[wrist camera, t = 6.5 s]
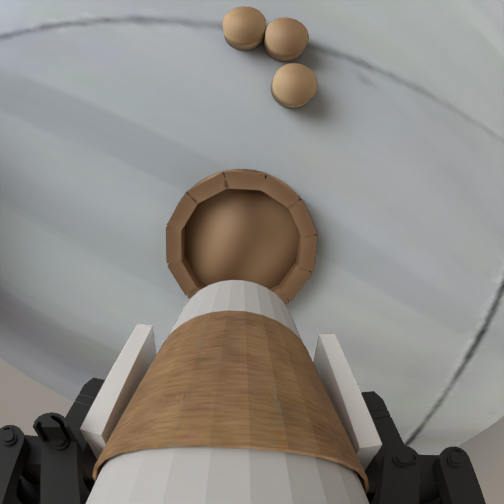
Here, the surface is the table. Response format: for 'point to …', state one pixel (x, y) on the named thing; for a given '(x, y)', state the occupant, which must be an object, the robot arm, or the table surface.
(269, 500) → the coffee cup
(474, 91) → the table surface
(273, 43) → the bead
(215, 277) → the round tray
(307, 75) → the bead
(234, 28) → the bead
